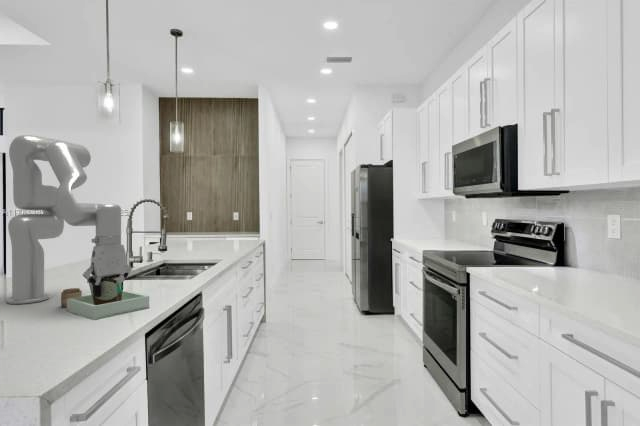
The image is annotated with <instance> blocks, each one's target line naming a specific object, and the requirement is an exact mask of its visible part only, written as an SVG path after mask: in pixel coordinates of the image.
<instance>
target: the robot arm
mask: <svg viewBox="0 0 640 426" xmlns="http://www.w3.org/2000/svg"><path fill="white" fill-rule="evenodd" d="M8 148H9V149H8V156H9V157H8V158H9V161H10V165H11V168H12V192H13V193H12V195H13V198H12V199H13V204H14V206H15V207H16V208H17V209H19V210H21V211H22V210H23V211H42V213H22V214H18V215H15V216H13V217H12V218H11V219H10V220H9V222H8V224H7V227H8V234H9V238H10V242H11V244H10V245H11V295H12V296H11V297H8V298H7V299H6V303H7V304H9V305H10V304H12V305H21V304H22V305H23V304H24V305H25V304H32V303H38V302H43V301H46V300H49V299H50V294H48V293H45V250H44V248H43V246H42V245H41V244H40V242H39V240H47V239H50V240H51V239H55V238H58V237H59V238H60V236H61V235H62V234H63V232H64V227H65V222H66V223H67V224H68V225H69V226H72V227H91V226H92V227H94V226H95V236H94V238H91V243H92V244H93V243H94V244H95V245H93V247H92V250H91V251H92V252H91V258H90V266H89V267H88V268H87V270H85V271H84V272H83V273H82V276H83V278H85V279H86V281H87V280H88V281H89V282H90V283H91V284H93V295H94V296H95V297H101V285H99V283H100V280H101V278H102V277H105V276H113V275H120V274H121V275H122V277H123V282H122V283H121V287H122V292H123V291H124V281H125V279H127V277H128V276H129V274H130V273H131V272H132V271H133V267H131V266H129V264H127V263H128V262H127V255H126V249H125V245H124V244H122V207H121V206H120V205H119V204H115V203H114V204H110V203H109V204H106V203H105V204H102V203H84V202H83V203H82V202H81V203H80V202H79V203H77V201H76V198H75V197H74V194H73V190H75V189H78V188H79V187H82V186H83V185H84V184H85V183H86V181H88V176H87V174H86V172H85V170H84V168H86V167H88V166H89V165H90V163H91V158H92V157H91V152H90V151H89V149H88V148H87V147H86V146H84V145H81V144H78V143H77V144H76V143H72V142H68V141H66V140H59V139H55V138H50V137H44V136H40V135H39V136H38V135H30V134H29V135H28V134H24V135H18V136H15V137H14V139H13V140H12V141H11V143H10V144H9V147H8ZM35 161H44V162H48V163H49V165H50V167H51V169H52V171H53V173H54V175H55V176H56V179H57V180H58V182H59V186H58V187H57V186H54V185H46V184H44V185H43V180H42V179H43V176H42V175H43V174H42V171H41V168H40V167H39V165H38V164H37V163H36V162H35ZM93 275H94V277H93V278H92V277H91V276H93Z"/></svg>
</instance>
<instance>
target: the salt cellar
mask: <svg viewBox="0 0 640 426" xmlns="http://www.w3.org/2000/svg"><path fill="white" fill-rule="evenodd" d="M82 292H83V291H82V290H81V289H80V288H79V287H78V288H77V287H75V288H74V287H72V288H65V289H63V291H61V293H60V308H61V309H67V299H69V298H75V297H81V296H83V294H82Z"/></svg>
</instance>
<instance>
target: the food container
mask: <svg viewBox="0 0 640 426" xmlns="http://www.w3.org/2000/svg"><path fill="white" fill-rule="evenodd" d="M90 276H91V277H92V278H93V277H94V275H90ZM86 282H87V284H88V285H89V289H90V294H91V295H92V299H93V303H94V305H101V304H106V303H112V302H117V301H122V287H121V283H122V282H123V283H124V281H123V277H122V275H121V274H120V275H113V276H105V277H102V278H101V280H100V283H99V285H101V297H95V296H94V295H93V284H91V283H90V282H89V281H88V280H87V279H86Z"/></svg>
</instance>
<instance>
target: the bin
mask: <svg viewBox="0 0 640 426" xmlns="http://www.w3.org/2000/svg"><path fill="white" fill-rule="evenodd" d="M145 309H150V295H146V294H141V293H136V292H131V291H127V290H123V292H122V301H117V302H112V303H106V304H101V305H94V303H93V299H92V295H90V294H88V295H82V296H81V297H75V298H69V299H67V308H66V312H69V313H71V314H74V315H75V314H76V315H79V316H82V317H85V318H87V319H88V318H89V319H91V320H94V321H95V320H100V319H104V318H108V317H113V316H117V315H122V314H128V313H131V312H135V311H140V310H145Z"/></svg>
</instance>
